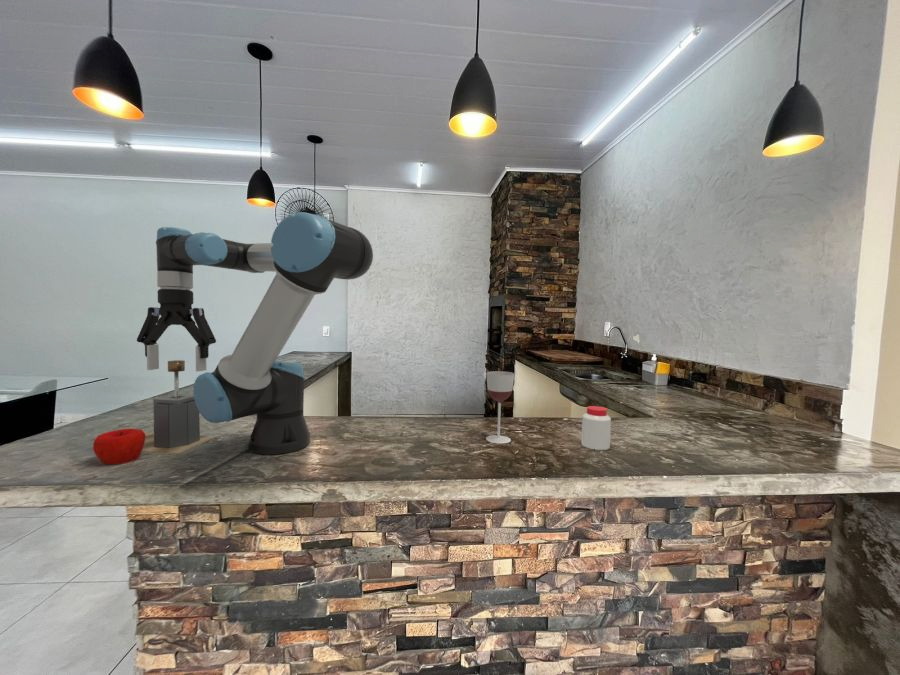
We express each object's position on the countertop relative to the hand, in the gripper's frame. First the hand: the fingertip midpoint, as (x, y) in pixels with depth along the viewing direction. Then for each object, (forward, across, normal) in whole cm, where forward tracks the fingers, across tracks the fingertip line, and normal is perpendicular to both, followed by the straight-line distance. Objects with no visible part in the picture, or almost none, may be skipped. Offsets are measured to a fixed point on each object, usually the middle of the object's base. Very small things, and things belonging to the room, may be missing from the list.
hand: (177, 370), depth 98 cm
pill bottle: (+22, -114, -19) cm, 117 cm away
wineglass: (+21, -86, -20) cm, 90 cm away
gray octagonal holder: (+19, 0, -1) cm, 19 cm away
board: (+20, +4, +1) cm, 21 cm away
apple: (+21, +3, +13) cm, 25 cm away
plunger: (+17, 0, 0) cm, 17 cm away
